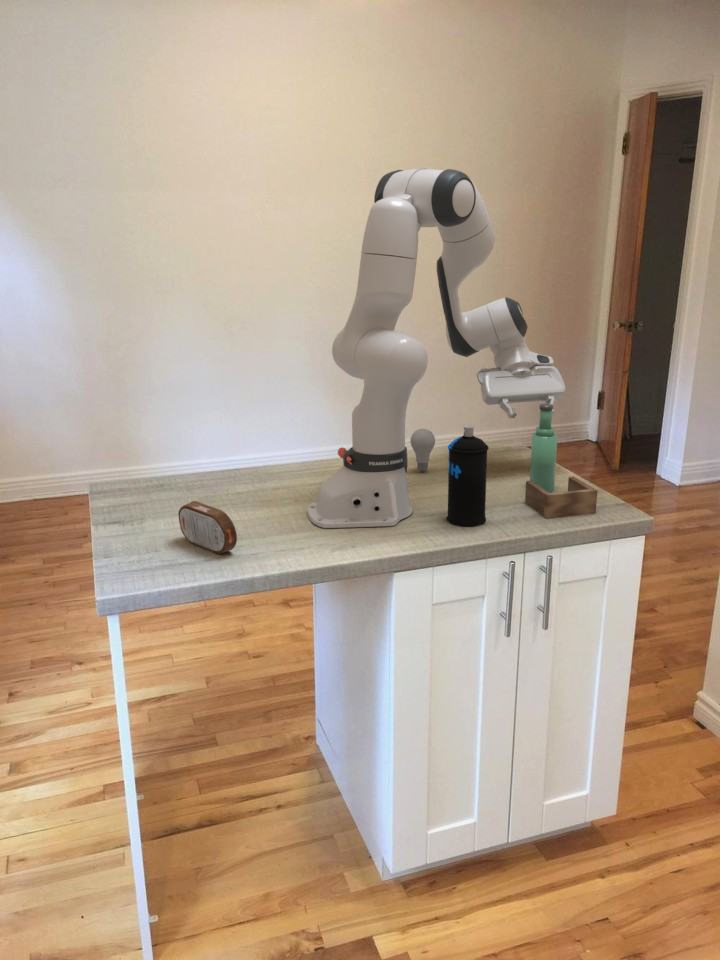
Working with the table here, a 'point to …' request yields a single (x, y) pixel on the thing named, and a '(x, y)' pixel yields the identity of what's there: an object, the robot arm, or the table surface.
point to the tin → (207, 527)
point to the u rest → (562, 499)
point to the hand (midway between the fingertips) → (531, 415)
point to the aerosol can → (467, 480)
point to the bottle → (544, 451)
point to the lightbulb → (422, 447)
